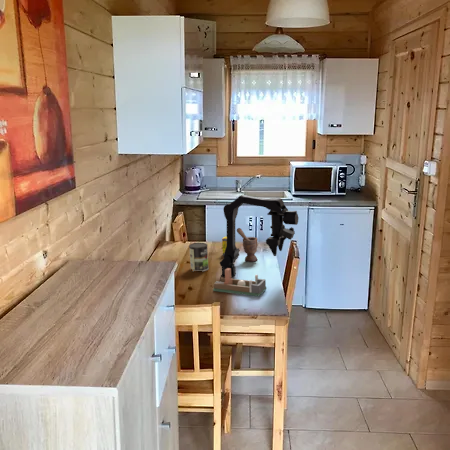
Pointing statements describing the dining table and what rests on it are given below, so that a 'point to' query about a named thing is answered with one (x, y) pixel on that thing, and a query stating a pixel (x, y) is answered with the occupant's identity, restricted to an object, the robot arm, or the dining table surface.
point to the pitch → (242, 287)
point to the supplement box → (224, 244)
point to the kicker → (227, 277)
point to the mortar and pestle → (249, 246)
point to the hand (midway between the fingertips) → (277, 253)
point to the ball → (241, 283)
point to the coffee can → (198, 256)
